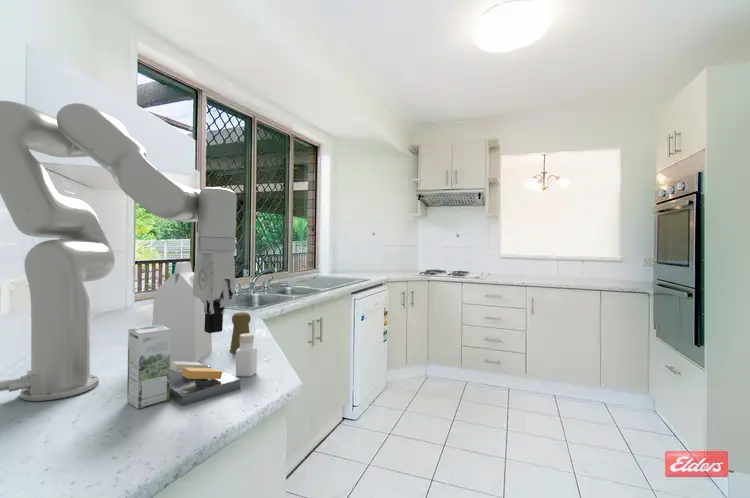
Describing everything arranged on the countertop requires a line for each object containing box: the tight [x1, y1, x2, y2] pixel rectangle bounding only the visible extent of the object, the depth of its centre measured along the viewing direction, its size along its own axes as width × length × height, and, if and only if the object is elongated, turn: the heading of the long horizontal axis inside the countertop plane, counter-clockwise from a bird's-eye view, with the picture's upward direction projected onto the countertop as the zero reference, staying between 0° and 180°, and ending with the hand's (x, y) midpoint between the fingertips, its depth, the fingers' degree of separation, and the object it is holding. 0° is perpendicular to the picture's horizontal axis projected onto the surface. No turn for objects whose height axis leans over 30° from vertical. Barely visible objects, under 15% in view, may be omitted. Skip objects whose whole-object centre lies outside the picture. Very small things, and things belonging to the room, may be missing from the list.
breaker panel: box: [169, 364, 242, 407], centre depth 81 cm, size 12×14×3 cm
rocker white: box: [170, 361, 209, 373], centre depth 82 cm, size 7×3×2 cm, turn 139°
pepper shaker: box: [229, 311, 251, 354], centre depth 110 cm, size 6×6×11 cm
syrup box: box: [126, 325, 171, 410], centre depth 73 cm, size 6×6×14 cm
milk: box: [151, 261, 213, 362], centre depth 103 cm, size 12×12×26 cm
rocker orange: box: [181, 367, 223, 379], centre depth 78 cm, size 7×3×2 cm, turn 139°
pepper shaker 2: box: [235, 332, 258, 378], centre depth 89 cm, size 4×4×10 cm
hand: (213, 331), depth 80 cm, fingers closed
